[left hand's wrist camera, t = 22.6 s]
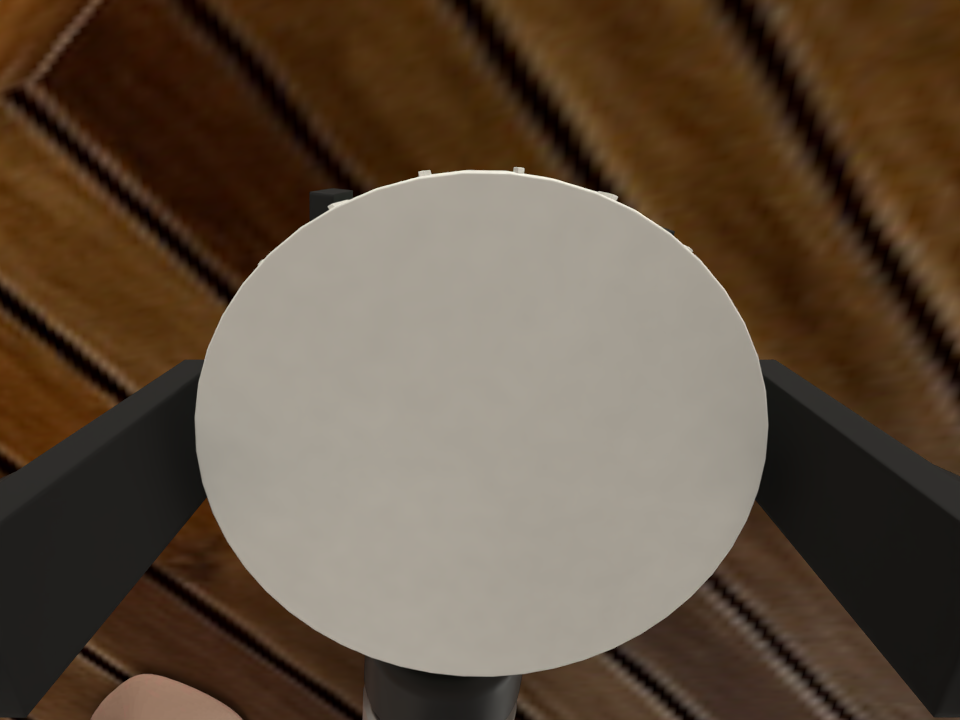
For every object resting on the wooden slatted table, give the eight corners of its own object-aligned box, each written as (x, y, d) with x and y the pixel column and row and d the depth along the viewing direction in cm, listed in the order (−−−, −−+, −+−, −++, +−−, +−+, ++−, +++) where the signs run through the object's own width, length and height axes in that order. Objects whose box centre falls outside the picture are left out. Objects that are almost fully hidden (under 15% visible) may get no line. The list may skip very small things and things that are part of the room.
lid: (148, 224, 10) (88, 235, 9) (727, 111, 10) (776, 100, 8) (312, 645, 14) (291, 706, 13) (736, 586, 13) (770, 642, 12)
